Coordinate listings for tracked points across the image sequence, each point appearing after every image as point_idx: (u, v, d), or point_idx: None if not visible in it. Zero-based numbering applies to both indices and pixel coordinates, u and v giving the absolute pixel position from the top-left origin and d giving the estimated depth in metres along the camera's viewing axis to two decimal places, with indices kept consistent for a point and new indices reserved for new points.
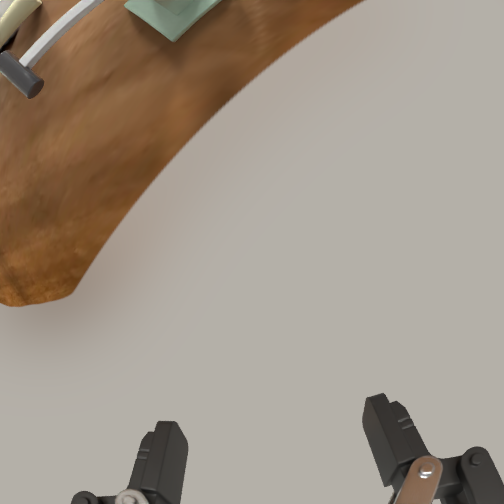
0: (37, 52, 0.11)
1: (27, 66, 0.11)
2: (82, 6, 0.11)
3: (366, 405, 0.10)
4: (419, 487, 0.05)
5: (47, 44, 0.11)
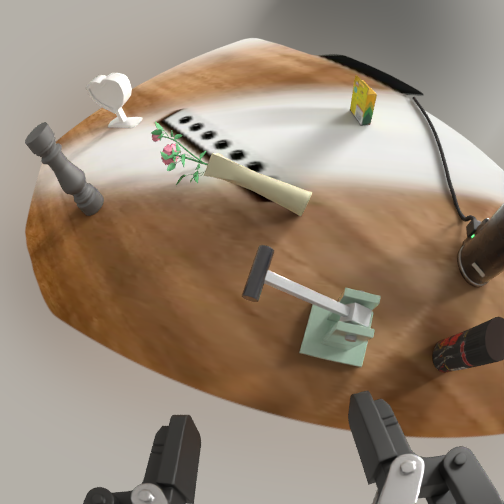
0: (276, 284, 0.28)
1: (265, 281, 0.28)
2: (315, 298, 0.29)
3: (351, 402, 0.10)
4: (402, 485, 0.05)
5: (282, 289, 0.28)
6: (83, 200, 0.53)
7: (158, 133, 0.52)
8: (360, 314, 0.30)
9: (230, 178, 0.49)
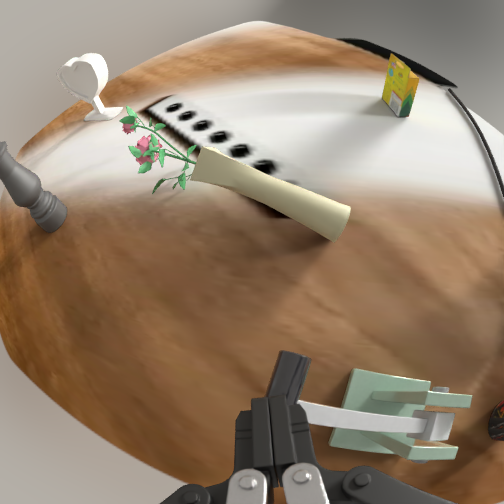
0: (314, 423, 0.12)
1: None
2: (380, 426, 0.13)
3: None
4: (304, 494, 0.06)
5: (325, 425, 0.12)
6: (40, 213, 0.37)
7: (130, 121, 0.35)
8: (441, 427, 0.13)
9: (229, 184, 0.33)
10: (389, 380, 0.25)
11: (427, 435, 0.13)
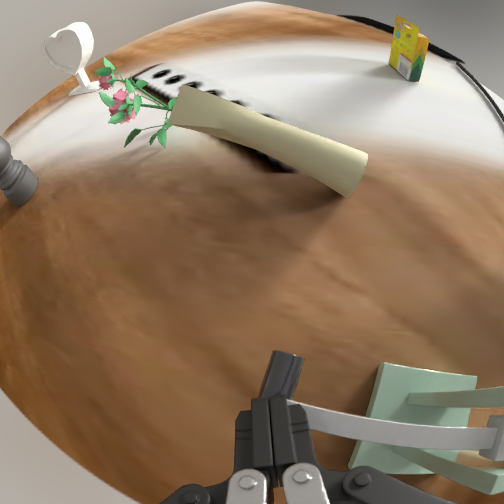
0: None
1: None
2: (405, 439, 0.09)
3: None
4: (304, 494, 0.06)
5: (324, 432, 0.10)
6: (7, 183, 0.29)
7: (106, 73, 0.27)
8: None
9: (214, 125, 0.24)
10: (429, 377, 0.17)
11: (494, 452, 0.06)
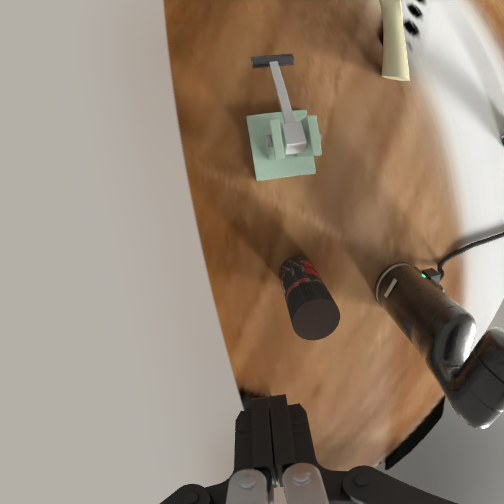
0: (271, 68, 0.30)
1: (268, 63, 0.30)
2: (280, 93, 0.29)
3: None
4: (304, 494, 0.06)
5: (272, 74, 0.30)
6: None
7: None
8: (293, 130, 0.28)
9: (382, 1, 0.26)
10: None
11: None
